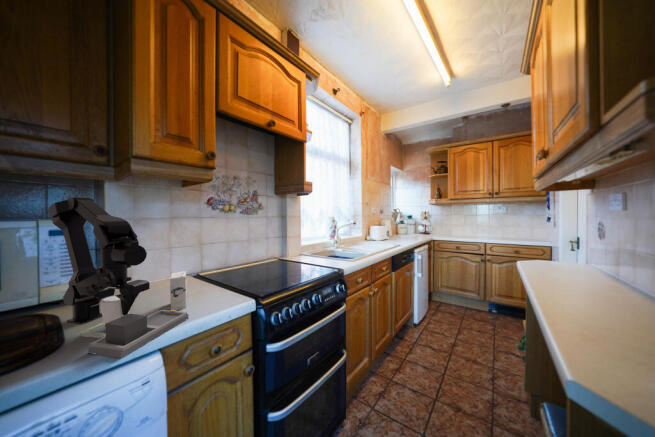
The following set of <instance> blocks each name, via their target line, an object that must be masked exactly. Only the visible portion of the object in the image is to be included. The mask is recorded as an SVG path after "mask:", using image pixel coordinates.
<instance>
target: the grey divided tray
mask: <svg viewBox="0 0 655 437" xmlns="http://www.w3.org/2000/svg"><path fill="white" fill-rule="evenodd" d="M186 319H187V320H188V319H189V313H188V312H187V311H179V310H178V311H177V310H171V309H170V310H168V309H160V310H157V311H155V312H152V313H151V314H149V315H148V316H147V315H146V314H136V313H129V314H127V315H125V316H122V317H120V318H118V319H115V320H113V321H111V322H108V323H106V324H105V331H104V332H105V333H106V336H105V337H103V338H101V339H100V338H98V339H97V340H95V341H93V342H90V343H89V344H90V346H89V347H87V349H88V350H87V351H88V352H87V354H88V353H96V354H99V355H98V356H103V357H108V358H109V357H110V358H115V359H116V358H117V359H123V358H125V357H126V356H127V355H130V354H132V353H133V352H135V351H136V350H138V349H140V348H142V347H143V346H145V345H146V344H148V343H149V342H152V341H154V340H155V339H157V338H158V337H160V336H162V335H163V334H165V333H166V332H168V331H170V330H172V329H174V328H175V327H177V326H178V325H180V324H182V323H183V322H185V321H187V320H186Z"/></svg>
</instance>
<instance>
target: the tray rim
mask: <svg viewBox="0 0 655 437" xmlns="http://www.w3.org/2000/svg"><path fill="white" fill-rule="evenodd" d="M104 327H105V325H104V323H103V322H102V323H99V324H96V325H94V326H91V327H89V328H86V329H85V330H82V331H80V332H79V336H80V337H86V338H95V339H100V338H103V337H105V336H106V332H100V331H99V332H97V331H98V330H100V329H102V328H104Z"/></svg>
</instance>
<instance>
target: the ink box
mask: <svg viewBox="0 0 655 437" xmlns="http://www.w3.org/2000/svg"><path fill="white" fill-rule="evenodd" d="M170 274H171V275H170V281H169V282H170V286H169V288H170V289H169V291H170V310H178V311H179V310H183V309H187V271H186V270H185V271H184V270H183V271H177V272H172V273H170Z"/></svg>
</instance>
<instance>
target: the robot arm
mask: <svg viewBox="0 0 655 437" xmlns="http://www.w3.org/2000/svg"><path fill="white" fill-rule="evenodd" d="M47 215H48V217H49V218H51V222H52V224H53V225H54V226H55V227H57V228H58V229H60V231H62V233H63V237H64V240H65V245H66V250H67V252H68V256H69V261H70V264H71V269H72V272H73V273H72V275H71V277H70V279H68V280H69V281H68V283H67V284H68V287H67V289H66V291H65V292H64V294H63V296H62V300H63V303H64V305H67V306H71V307H72V318H70V319H67V320H66V322H67V323H74V324H79V325H82V324H86V323H87V322H90V321H93V320H96V319H98V318H101V317H102V312H100V311H101V305H100V300H101V299H103V298H106V297H109V296H113V295H116V297H118V298H119V299H120V300H121V307H122V313H123V315H127V314H128V312H129V313H130V310H131V308H132V306H133V304H134V302H136V300H137V298H138V296H139V295H140V293H143V292H145V291H149V290H150V282H149V281H148V280H146V279H135V280H132V277H131V276H128V268H131V267H132V266H134V267H136V266H138V265H141V264H143V262H145V260H146V259H147V255H148V254H147V253H148V252H147V251H146V249H145V247H144V246H142V245H139V244H140V242H139V239H138V235H137V233H135V231H134V230H133V227H132V224H130V222H129V221H128V220H127V219H124V218H122V217H118V216H114V215H111V214H110V213H108V212H107V211H106V210H105V209H103V208H102V207H101V206H100V205H98V204H97V203H96V202H95V200H94V198H92V197H88V196H72V197H69V198H68V199H65V200H61V201H57V202H54V203H53V204H51V205H50V206H48V208H47ZM86 222H89V224H90V225H92V227H93V230H92V233H93V235H94V236H95V237H96V239H97V240H98V242H99V243H98V244H97V248H100V265H101V266H98V267H97V268H96V267H95V265H94V262H93V258H92V254H91V251H90V247H89V243H88V240H87V239H88V238H87V236H86V235H87V234H86V232H85V229H84V225H85V224H86ZM116 290H119V294H115V292H116Z"/></svg>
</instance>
